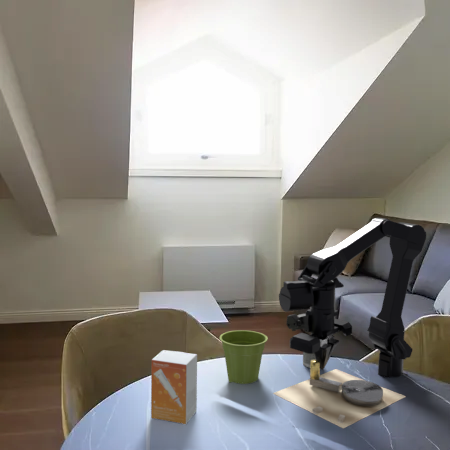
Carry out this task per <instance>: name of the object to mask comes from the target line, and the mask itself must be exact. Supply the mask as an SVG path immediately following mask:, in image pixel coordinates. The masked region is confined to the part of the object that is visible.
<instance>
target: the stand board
mask: <svg viewBox="0 0 450 450" xmlns="http://www.w3.org/2000/svg"><path fill="white" fill-rule="evenodd" d="M320 377H321V378H325V379H329V380H333V381H337V382H341V383H342V384H343V383H344V382H346V381H350V380H364V381H366V380H365V379H362V378H360V377H357V376H354V375H352V374H350V373H347V372H345V371H342V370H340V369H336V368H335V369H333V370H332V369H331V370H330V371H328V372H324V373H323V374H320ZM379 386H380V385H379ZM380 387H381V388H382V389H383V401H382V402H381V403H380V404H378V405H374V406H361V405H356V404H353V403H350V402H348V401H346V400H345V399H344V398H343V397H342V395H341V394H342V390H341V391H340V392H335V391H331V390H327V389H324V388H320V387H316V386H313V385H310V378H309V379H306V380H303V381H301V382H299V383H296V384H292V385H290V386H288V387H285V388H282V389H280V390H277V391H275V392H273V393H272V394H273V395H275V396H277V397H279V398H281V399H283V400H285V401H287V402H289V403H292V404H294V405H296V406H297V407H299V408H301V409H303V410H306V411H308V412H310V413H311V414H313V415H315V416H317V417H319V418H321V419H323V420H325V421H327V422H329V423H331V424H333V425H336V426H338V427H339V428H341V429H345V428H347V427H349V426H352V425H353V424H355V423H358V422H359V421H361V420H363V419H365V418H367V417H369V416H371V415H373V414H375V413H377V412H378V411H381V410H382V409H385V408H387V407H389V406H390V405H393V404H394V403H396V402H398V401H400V400H402V399H404V398H406V397H407V396H406V395H404V394H401V393H398V392H396V391H393V390H391V389H388V388H385V387H383V386H380Z"/></svg>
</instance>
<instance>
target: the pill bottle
mask: <svg viewBox="0 0 450 450" xmlns="http://www.w3.org/2000/svg"><path fill="white" fill-rule="evenodd" d="M311 360H316V357H315V354H314V353H313V354H308V353H305V352H302V365H303V366H304V367H307V368H310V365H311Z"/></svg>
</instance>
